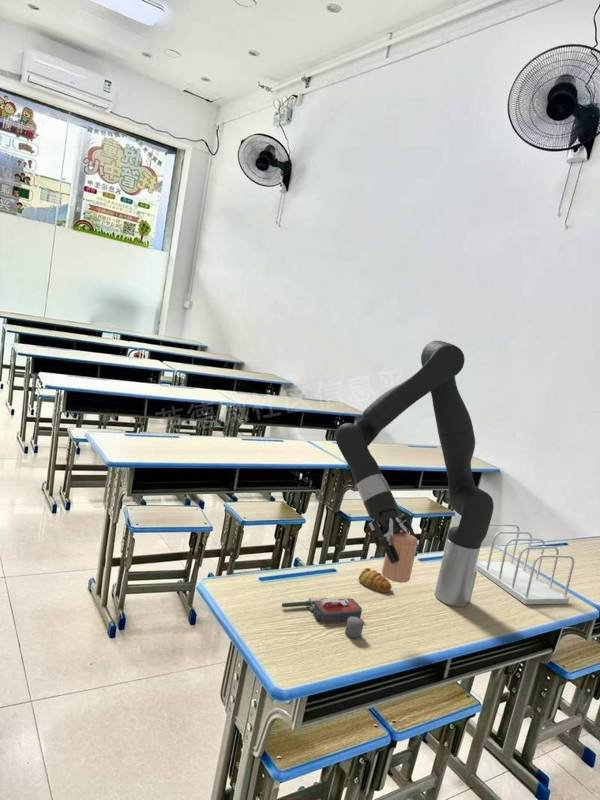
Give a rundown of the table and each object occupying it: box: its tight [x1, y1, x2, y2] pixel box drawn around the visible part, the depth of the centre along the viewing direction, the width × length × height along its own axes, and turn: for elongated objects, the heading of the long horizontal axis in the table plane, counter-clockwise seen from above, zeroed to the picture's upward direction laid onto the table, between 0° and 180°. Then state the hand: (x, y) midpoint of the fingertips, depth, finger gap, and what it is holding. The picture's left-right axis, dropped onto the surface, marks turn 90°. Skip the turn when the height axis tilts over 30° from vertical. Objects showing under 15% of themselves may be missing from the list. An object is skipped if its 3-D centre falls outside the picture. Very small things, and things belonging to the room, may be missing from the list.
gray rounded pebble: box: [344, 617, 365, 640], centre depth 128 cm, size 4×4×4 cm
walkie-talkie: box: [281, 596, 363, 624], centre depth 135 cm, size 9×4×20 cm
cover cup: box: [381, 532, 419, 584], centre depth 131 cm, size 7×7×10 cm
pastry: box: [358, 567, 393, 593], centre depth 155 cm, size 9×7×4 cm
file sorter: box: [475, 523, 575, 605], centre depth 173 cm, size 25×17×16 cm
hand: (404, 559), depth 130 cm, fingers closed on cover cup, 7 cm apart
